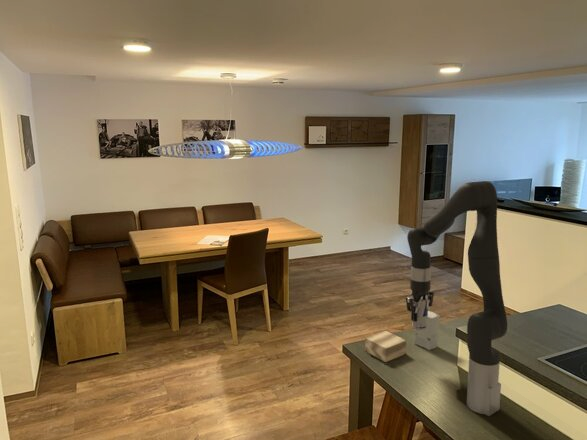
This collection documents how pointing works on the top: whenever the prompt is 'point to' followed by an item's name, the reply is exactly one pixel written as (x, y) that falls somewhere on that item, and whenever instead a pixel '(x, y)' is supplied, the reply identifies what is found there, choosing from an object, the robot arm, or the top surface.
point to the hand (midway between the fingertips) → (419, 319)
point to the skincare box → (429, 332)
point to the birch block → (385, 346)
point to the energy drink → (421, 316)
